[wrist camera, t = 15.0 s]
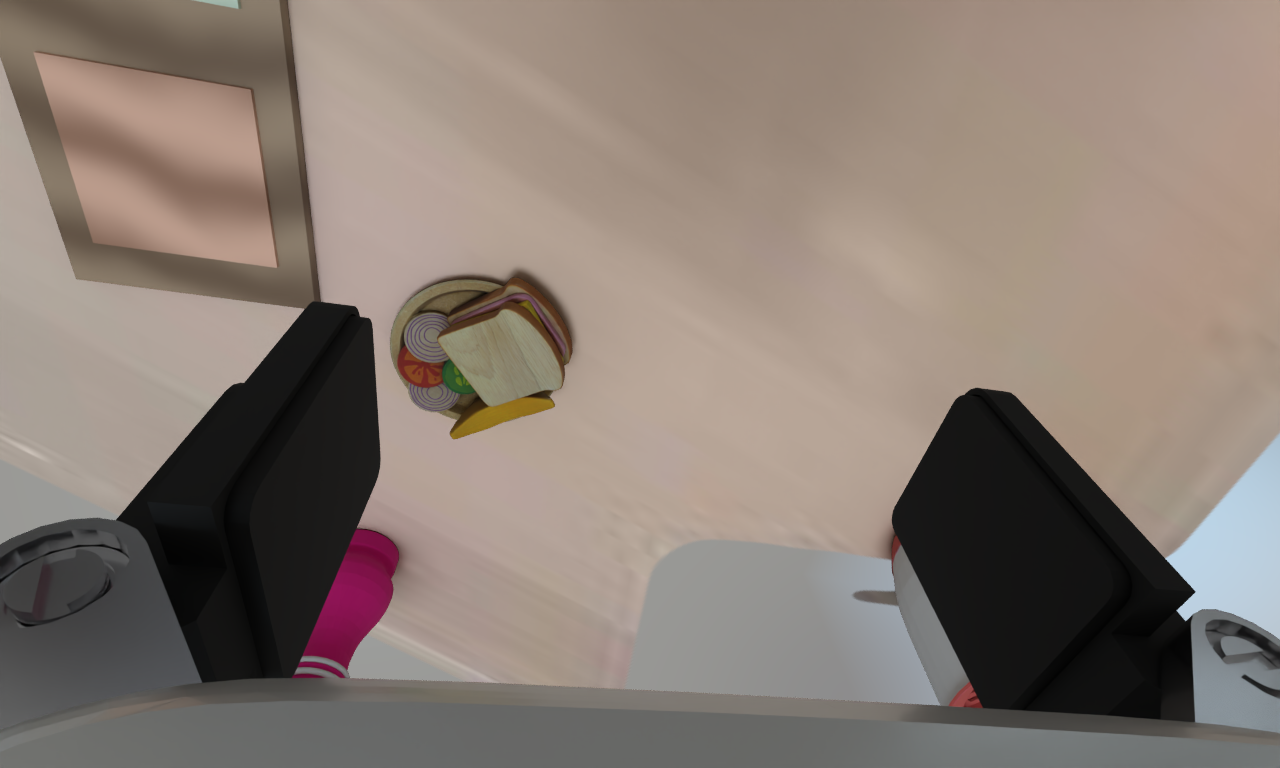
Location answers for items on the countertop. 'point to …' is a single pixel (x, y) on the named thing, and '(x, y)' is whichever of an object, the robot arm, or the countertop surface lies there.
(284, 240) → the tile board
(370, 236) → the countertop surface
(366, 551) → the pepper mill
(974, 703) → the citrus juicer
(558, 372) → the toy sandwich meal
